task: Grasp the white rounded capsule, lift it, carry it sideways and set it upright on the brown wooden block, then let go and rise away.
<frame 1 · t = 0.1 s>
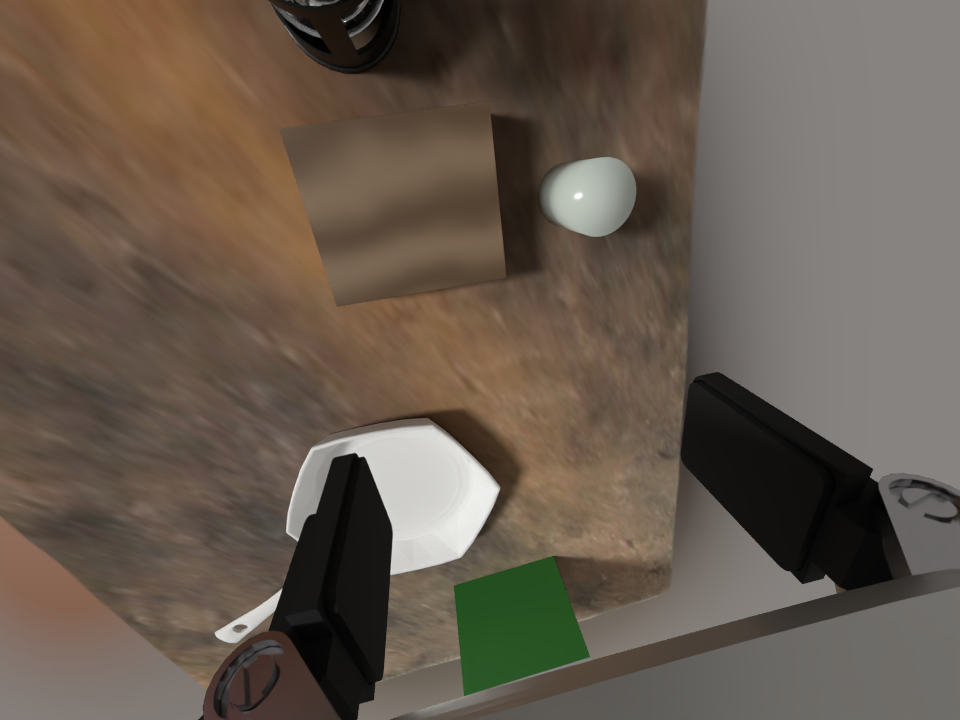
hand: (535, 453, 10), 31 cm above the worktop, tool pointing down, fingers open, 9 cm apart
pan: (349, 517, 52), on the worktop
hardback book: (507, 582, 64), on the worktop
brown wooden block: (408, 208, 35), on the worktop
white rounded capsule: (566, 195, 37), on the worktop
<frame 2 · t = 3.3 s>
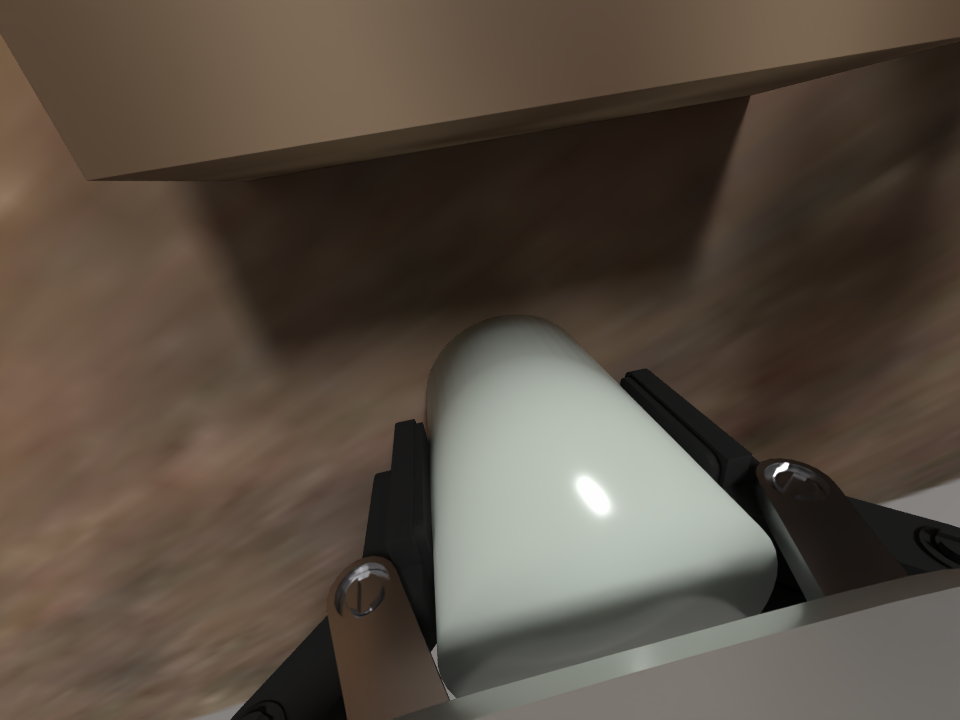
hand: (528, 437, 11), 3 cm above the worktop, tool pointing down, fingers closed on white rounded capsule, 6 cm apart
white rounded capsule: (508, 392, 13), on the worktop, touching gripper
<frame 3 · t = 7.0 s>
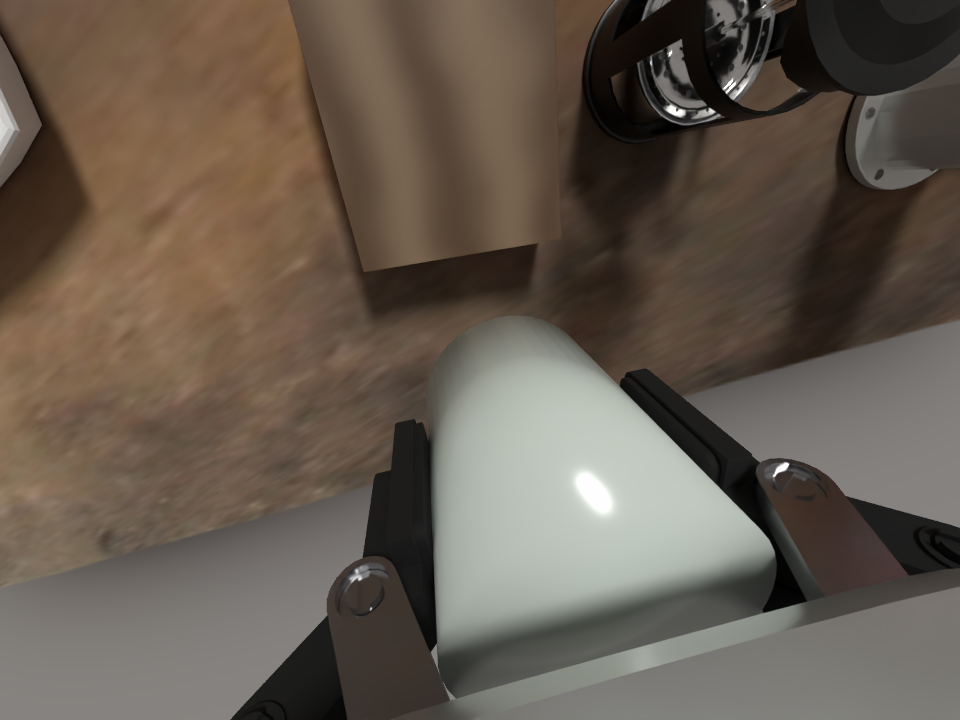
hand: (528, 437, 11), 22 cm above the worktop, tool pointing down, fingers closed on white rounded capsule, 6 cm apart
brown wooden block: (439, 130, 26), on the worktop
white rounded capsule: (508, 393, 13), point 20 cm above the worktop, touching gripper
french press: (649, 69, 27), on the worktop
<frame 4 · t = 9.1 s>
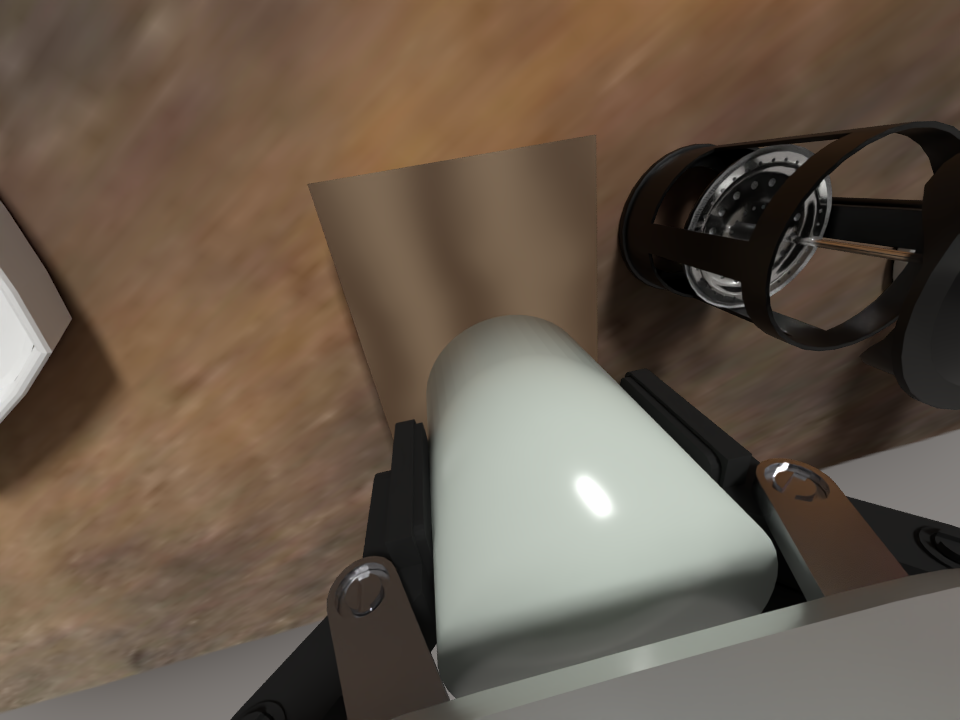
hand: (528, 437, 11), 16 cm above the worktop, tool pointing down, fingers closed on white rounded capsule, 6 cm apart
brown wooden block: (470, 292, 25), on the worktop
white rounded capsule: (508, 392, 13), point 14 cm above the worktop, touching gripper
french press: (687, 220, 26), on the worktop
when the fingers open (9 cm above the worktop, at t = 10.8 s): white rounded capsule drops 1 cm, resting on brown wooden block.
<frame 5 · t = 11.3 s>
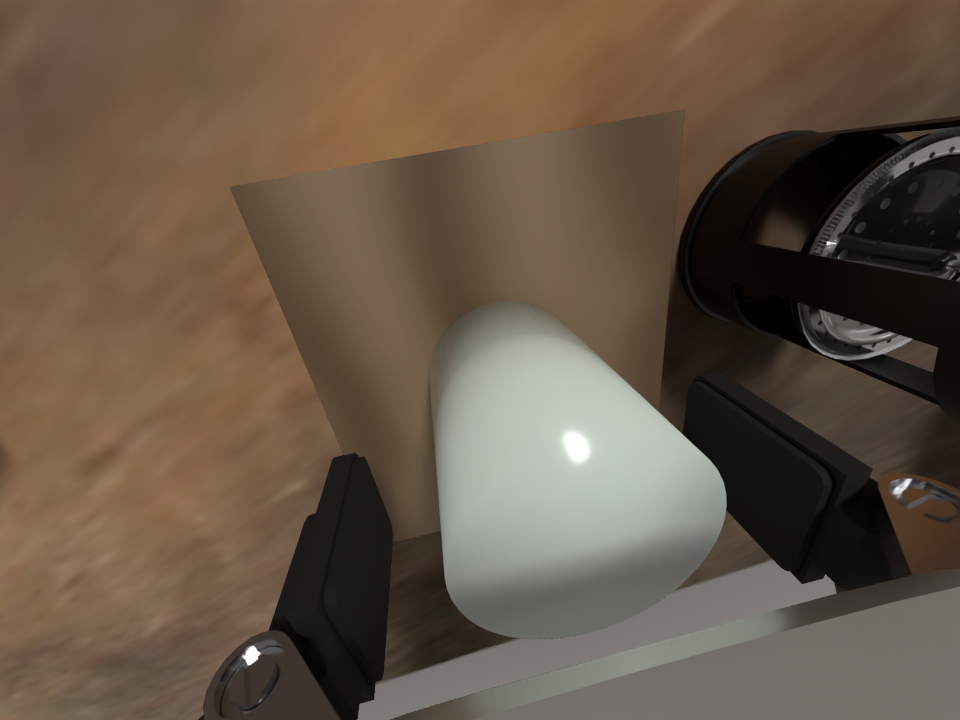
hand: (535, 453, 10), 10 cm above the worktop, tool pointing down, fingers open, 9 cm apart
brown wooden block: (481, 329, 19), on the worktop
white rounded capsule: (504, 373, 15), point 5 cm above the worktop, touching brown wooden block
french press: (767, 233, 19), on the worktop
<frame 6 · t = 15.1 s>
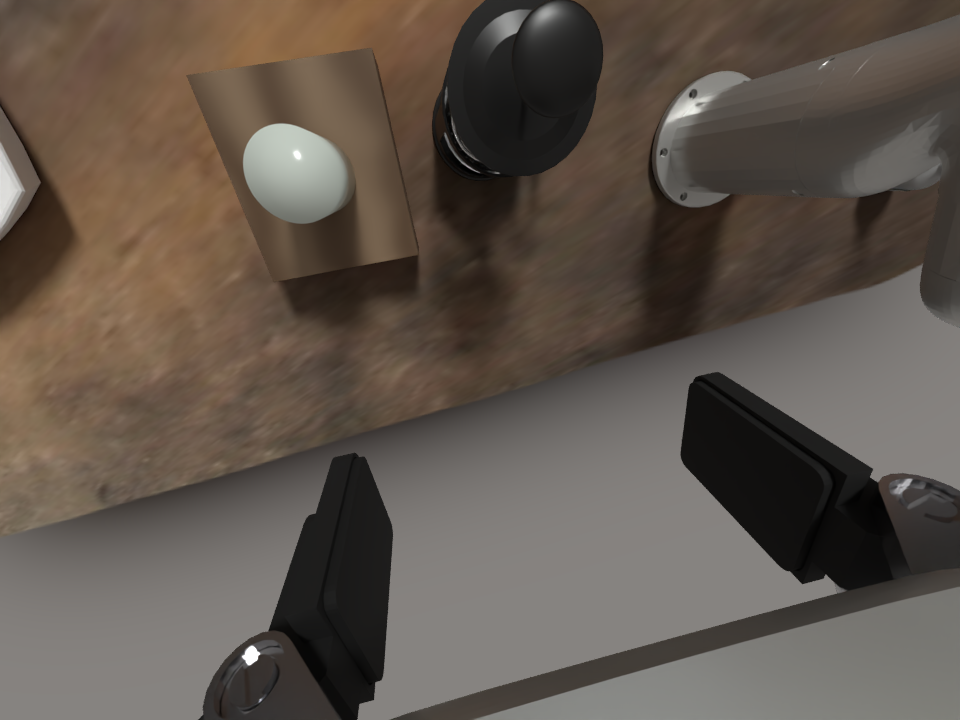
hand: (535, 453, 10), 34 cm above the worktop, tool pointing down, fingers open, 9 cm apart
reed diffuser: (890, 158, 44), on the worktop
brown wooden block: (329, 177, 36), on the worktop
white rounded capsule: (319, 176, 32), point 5 cm above the worktop, touching brown wooden block
french press: (484, 127, 36), on the worktop
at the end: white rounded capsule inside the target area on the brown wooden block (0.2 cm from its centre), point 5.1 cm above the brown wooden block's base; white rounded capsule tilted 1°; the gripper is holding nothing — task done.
